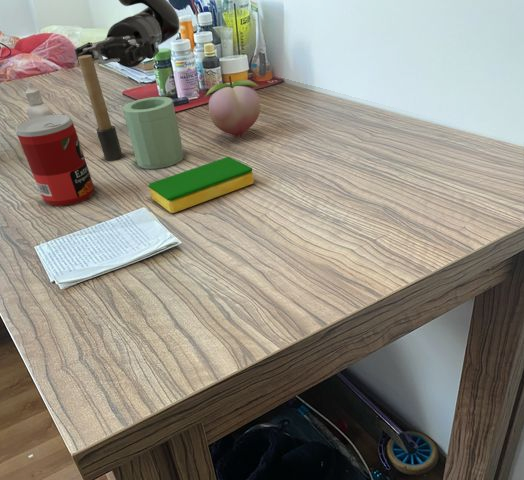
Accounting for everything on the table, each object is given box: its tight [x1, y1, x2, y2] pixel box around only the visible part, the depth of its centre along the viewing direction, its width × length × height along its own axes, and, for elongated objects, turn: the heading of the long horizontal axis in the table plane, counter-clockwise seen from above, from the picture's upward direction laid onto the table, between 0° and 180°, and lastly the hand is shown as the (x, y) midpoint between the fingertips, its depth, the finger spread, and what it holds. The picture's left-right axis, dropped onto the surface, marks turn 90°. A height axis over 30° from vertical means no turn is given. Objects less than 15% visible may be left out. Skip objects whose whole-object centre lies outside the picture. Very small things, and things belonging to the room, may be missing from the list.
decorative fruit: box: [204, 75, 262, 137], centre depth 90 cm, size 9×8×10 cm
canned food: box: [15, 114, 95, 207], centre depth 76 cm, size 8×8×11 cm
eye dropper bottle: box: [24, 81, 54, 120], centre depth 93 cm, size 4×6×12 cm
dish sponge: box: [148, 156, 255, 214], centre depth 75 cm, size 7×14×2 cm, turn 124°
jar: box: [122, 96, 185, 170], centre depth 85 cm, size 8×8×9 cm
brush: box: [77, 55, 124, 161], centre depth 86 cm, size 3×3×16 cm
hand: (104, 59), depth 88 cm, fingers open, 8 cm apart
